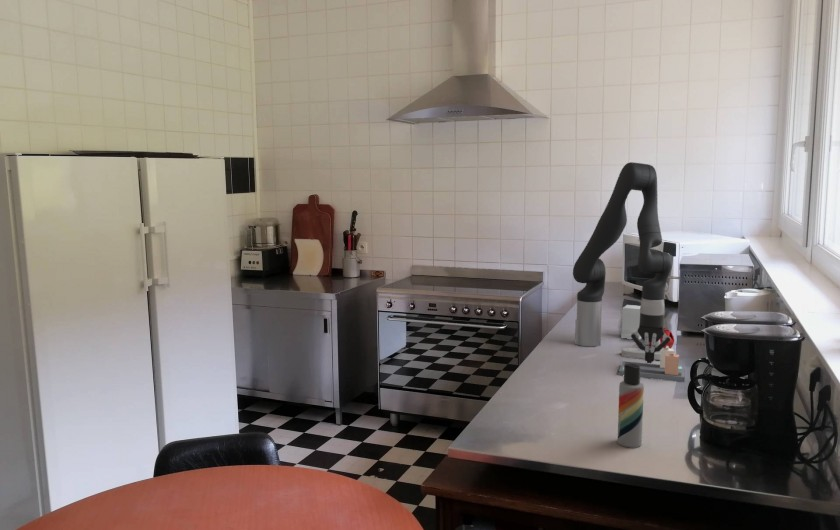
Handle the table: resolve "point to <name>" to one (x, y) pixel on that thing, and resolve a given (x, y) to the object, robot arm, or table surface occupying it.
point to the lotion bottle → (630, 408)
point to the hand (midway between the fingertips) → (649, 362)
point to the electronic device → (639, 352)
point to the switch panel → (655, 371)
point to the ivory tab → (663, 354)
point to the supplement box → (630, 321)
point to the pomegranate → (669, 341)
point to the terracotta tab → (671, 364)
